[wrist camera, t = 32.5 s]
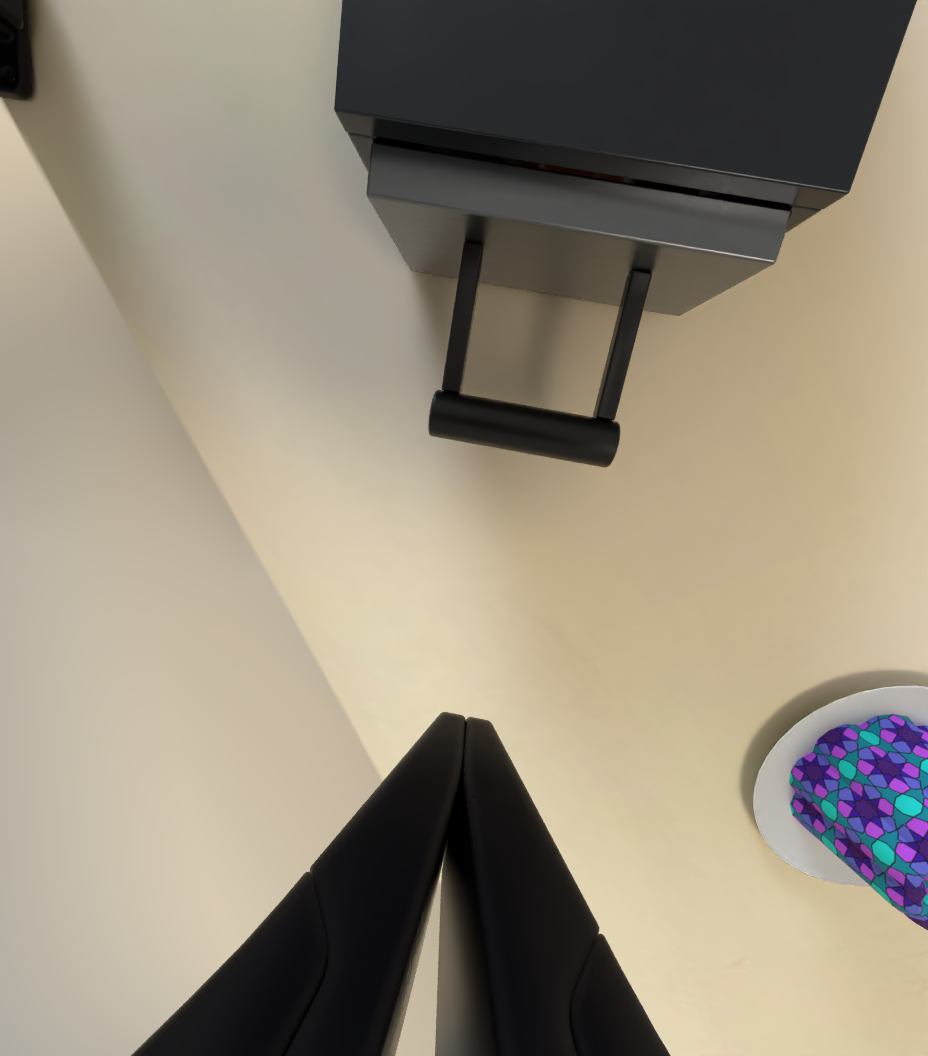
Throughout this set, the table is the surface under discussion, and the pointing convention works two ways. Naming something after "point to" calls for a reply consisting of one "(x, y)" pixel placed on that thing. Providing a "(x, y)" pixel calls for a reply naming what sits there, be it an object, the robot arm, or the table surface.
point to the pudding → (854, 795)
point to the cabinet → (630, 87)
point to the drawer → (560, 268)
